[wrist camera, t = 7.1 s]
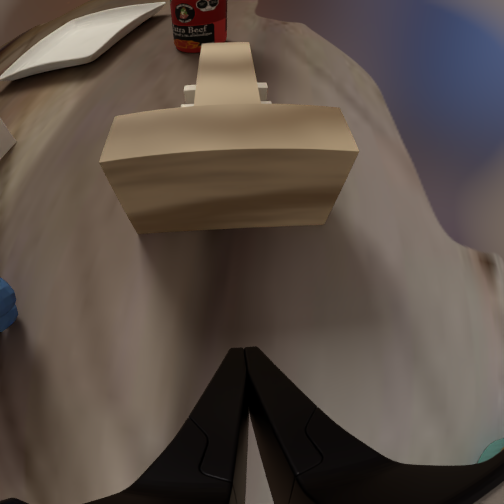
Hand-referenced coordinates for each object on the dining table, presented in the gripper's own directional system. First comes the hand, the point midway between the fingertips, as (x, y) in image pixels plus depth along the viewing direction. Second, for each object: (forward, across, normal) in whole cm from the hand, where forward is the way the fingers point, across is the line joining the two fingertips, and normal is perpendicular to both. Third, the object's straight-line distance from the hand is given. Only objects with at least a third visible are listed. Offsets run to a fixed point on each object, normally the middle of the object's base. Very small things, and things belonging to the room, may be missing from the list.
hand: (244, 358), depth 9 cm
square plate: (+45, +28, -32) cm, 62 cm away
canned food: (+36, +4, -24) cm, 44 cm away
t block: (+18, 0, -6) cm, 19 cm away
